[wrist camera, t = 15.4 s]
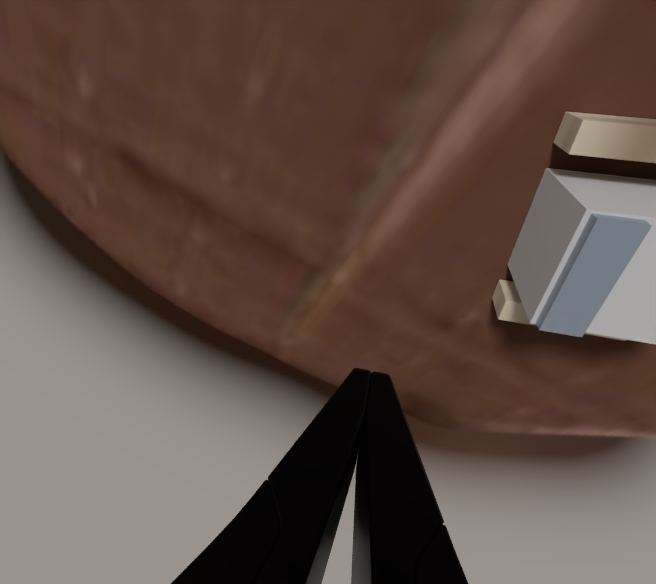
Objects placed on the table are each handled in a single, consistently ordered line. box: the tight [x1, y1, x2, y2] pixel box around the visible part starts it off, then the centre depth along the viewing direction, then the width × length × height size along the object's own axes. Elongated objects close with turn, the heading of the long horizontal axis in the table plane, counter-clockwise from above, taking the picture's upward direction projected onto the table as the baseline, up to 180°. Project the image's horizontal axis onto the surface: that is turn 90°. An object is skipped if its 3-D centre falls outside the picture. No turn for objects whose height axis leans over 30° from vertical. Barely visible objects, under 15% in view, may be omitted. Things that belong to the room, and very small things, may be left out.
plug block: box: [508, 168, 656, 344], centre depth 15 cm, size 6×5×6 cm
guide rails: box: [492, 112, 656, 341], centre depth 16 cm, size 6×9×2 cm, turn 176°
